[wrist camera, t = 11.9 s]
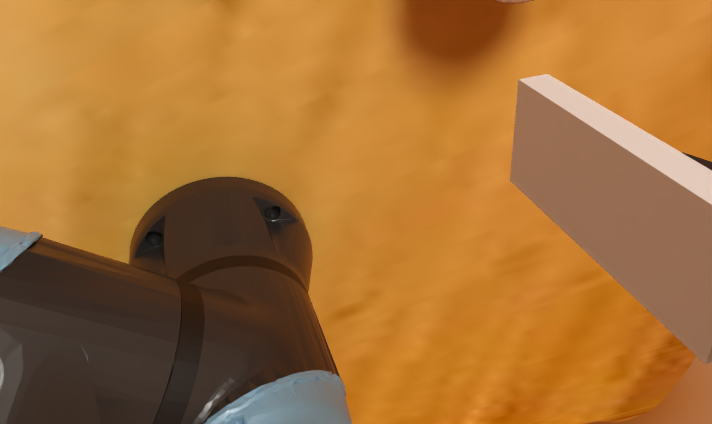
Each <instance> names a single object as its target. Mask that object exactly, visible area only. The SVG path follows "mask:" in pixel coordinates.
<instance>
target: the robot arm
mask: <svg viewBox="0 0 712 424" xmlns="http://www.w3.org/2000/svg"><path fill="white" fill-rule="evenodd" d="M510 181H511V182H512V183H513V184H514V185H515V186H517V187H518V188H519V189H520V190H521V191H522V192H523V193H524V194H525V195H526V196H527V197H528V198H529V199H530V200H531V201H532V202H534V203H535V204H536V205H537V206H538V207H539V208H540V209H541V210H542V211H543V212H544V213H545V214H546V215H547V216H548V217H549V218H550V219H552V220H553V221H554V222H555V223H556V224H557V225H558V226H559V227H560V228H561V229H562V230H563V231H564V232H565V233H566V234H567V235H569V236H570V237H571V238H572V239H573V240H574V241H575V242H576V243H577V244H578V245H579V246H580V247H581V248H582V249H583V250H584V251H586V252H587V253H588V254H589V255H590V256H591V257H592V258H593V259H594V260H595V261H596V262H597V263H598V264H599V265H600V266H601V267H603V268H604V269H605V270H606V271H607V272H608V273H609V274H610V275H611V276H612V277H613V278H614V279H615V280H616V281H617V282H618V283H620V284H621V285H622V286H623V287H624V288H625V289H626V290H627V291H628V292H629V293H630V294H631V295H632V296H633V297H634V298H635V299H637V300H638V301H639V302H640V303H641V304H642V305H643V306H644V307H645V308H646V309H647V310H648V311H649V312H650V313H651V314H652V315H654V316H655V317H656V318H657V319H658V320H659V321H660V322H661V323H662V324H663V325H664V326H665V327H666V328H667V329H668V330H669V331H671V332H672V333H673V334H674V335H675V336H676V337H677V338H678V339H679V340H680V341H681V342H682V343H683V344H684V345H685V346H686V347H688V348H689V349H690V350H691V351H692V352H693V353H694V354H695V355H696V356H697V357H698V358H699V359H700V360H702V362H703V363H705V364H707V363H710V362H712V162H710V161H707V160H704V159H701V158H698V157H695V156H692V155H689V154H686V153H683V152H682V153H681V152H679V151H678V150H676V149H674V148H673V147H671V146H669V145H668V144H666V143H664V142H662V141H661V140H659V139H657V138H656V137H654V136H652V135H651V134H649V133H647V132H645V131H644V130H642V129H640V128H639V127H637V126H635V125H634V124H632V123H630V122H628V121H627V120H625V119H623V118H622V117H620V116H618V115H617V114H615V113H613V112H611V111H610V110H608V109H606V108H605V107H603V106H601V105H600V104H598V103H596V102H594V101H593V100H591V99H589V98H588V97H586V96H584V95H583V94H581V93H579V92H577V91H576V90H574V89H572V88H571V87H569V86H567V85H566V84H564V83H562V82H560V81H559V80H557V79H555V78H554V77H552V76H550V75H549V74H544V75H539V76H534V77H529V78H523V79H519V80H518V92H517V104H516V116H515V128H514V140H513V151H512V163H511V175H510ZM42 237H43V235H42V234H40V233H38V232H31V233H25V232H21V231H17V230H13V229H9V228H5V227H1V226H0V424H352V421H351V417H350V414H349V410H348V407H347V403H346V399H345V396H346V392H345V386H344V384H343V382H342V380H341V378H340V376H339V373H338V371H337V368H336V366H335V363H334V360H333V358H332V355H331V352H330V350H329V347H328V345H327V342H326V339H325V337H324V334H323V332H322V329H321V326H320V324H319V321H318V319H317V316H316V313H315V311H314V308H313V306H312V303H311V300H310V298H309V295H308V290H309V283H310V275H311V268H312V245H311V240H310V237H309V234H308V231H307V229H306V226H305V224H304V221H303V219H302V217H301V215H300V213H299V212H298V210H297V209H296V207H295V206H294V205H293V204H292V203H291V202H290V201H289V200H288V199H287V198H286V197H285V196H284V195H283V194H281V193H280V192H278V191H277V190H275V189H273V188H272V187H269V186H267V185H265V184H263V183H260V182H257V181H254V180H249V179H244V178H237V177H216V178H208V179H203V180H199V181H195V182H192V183H189V184H186V185H184V186H181V187H179V188H177V189H175V190H173V191H172V192H170V193H168V194H167V195H165V196H164V197H162V198H161V199H160V200H158V201H157V202H156V203H155V204H154V205H153V206H152V207H151V208H150V209H149V210H148V211H147V212H146V213H145V215H144V216H143V217H142V219H141V220H140V222H139V224H138V225H137V228H136V230H135V232H134V235H133V238H132V241H131V246H130V262H129V264H126V263H123V262H120V261H117V260H113V259H110V258H107V257H103V256H100V255H97V254H94V253H90V252H87V251H84V250H81V249H77V248H74V247H71V246H67V245H64V244H61V243H58V242H55V241H52V240H49V239H46V238H42Z"/></svg>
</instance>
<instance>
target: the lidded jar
mask: <svg viewBox="0 0 712 424" xmlns="http://www.w3.org/2000/svg"><path fill="white" fill-rule="evenodd" d="M494 1H497V2H500V3H508V4H516V3H525V2H529V1H533V0H494Z"/></svg>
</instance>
